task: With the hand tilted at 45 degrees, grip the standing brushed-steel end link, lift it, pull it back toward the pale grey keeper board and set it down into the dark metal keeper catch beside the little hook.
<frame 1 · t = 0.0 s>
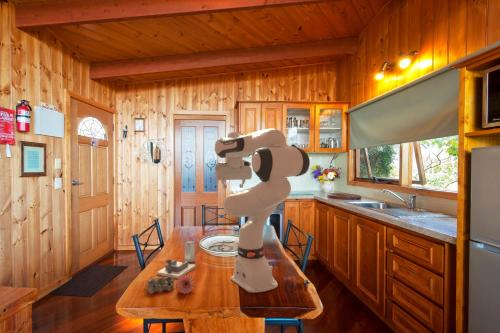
hand: (233, 187, 141), 39 cm above the table, tool pointing down, fingers open, 8 cm apart
flower: (185, 291, 107), on the table
egg carton: (160, 289, 109), on the table
keeper board: (177, 270, 127), on the table
end link: (189, 261, 139), on the table
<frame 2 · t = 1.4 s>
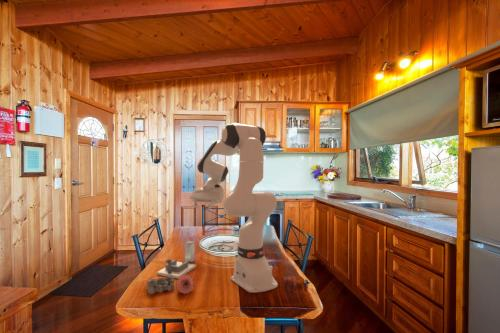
hand: (202, 207, 150), 27 cm above the table, tool tilted 45°, fingers open, 8 cm apart
nothing on the table moved.
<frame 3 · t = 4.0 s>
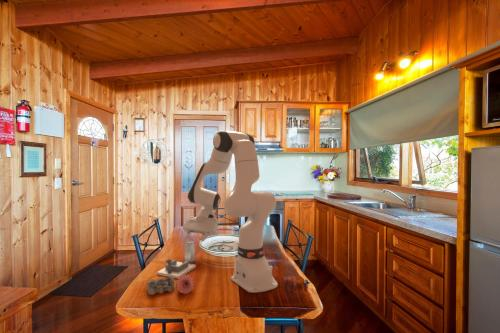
hand: (194, 239, 144), 10 cm above the table, tool tilted 45°, fingers open, 8 cm apart
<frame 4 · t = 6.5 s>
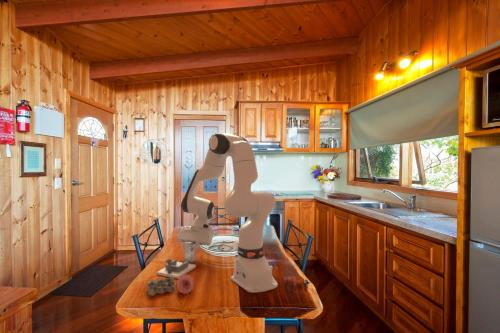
hand: (188, 250, 138), 6 cm above the table, tool tilted 45°, fingers closed on end link, 4 cm apart
end link: (189, 261, 139), on the table, touching gripper
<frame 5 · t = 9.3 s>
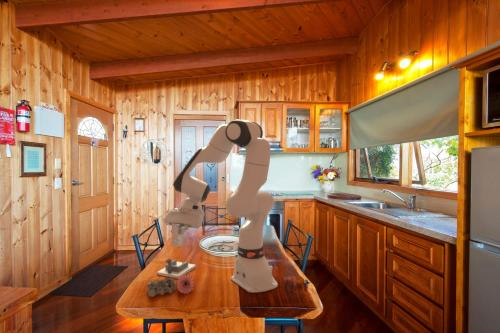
hand: (176, 233, 126), 18 cm above the table, tool tilted 45°, fingers closed on end link, 4 cm apart
end link: (177, 245, 127), point 12 cm above the table, touching gripper
when the fingers open (9 cm above the table, at t = 12.3 s): end link drops 1 cm, resting on keeper board.
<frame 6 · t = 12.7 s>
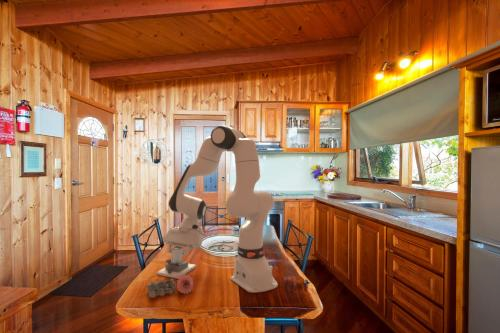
hand: (176, 253, 126), 9 cm above the table, tool tilted 45°, fingers open, 7 cm apart
end link: (177, 268, 127), point 1 cm above the table, touching keeper board
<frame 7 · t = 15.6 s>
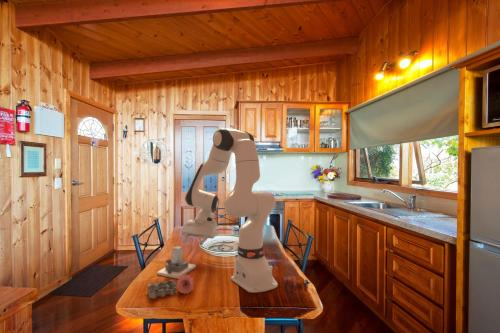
hand: (193, 243, 139), 10 cm above the table, tool tilted 45°, fingers open, 8 cm apart
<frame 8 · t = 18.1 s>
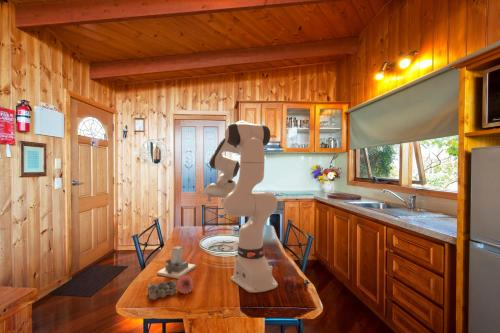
hand: (215, 202, 152), 29 cm above the table, tool tilted 45°, fingers open, 8 cm apart
at the end: end link 0.1 cm off-centre on the keeper board, point 1.2 cm above the keeper board's base; end link tilted 0°; the gripper is holding nothing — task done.
